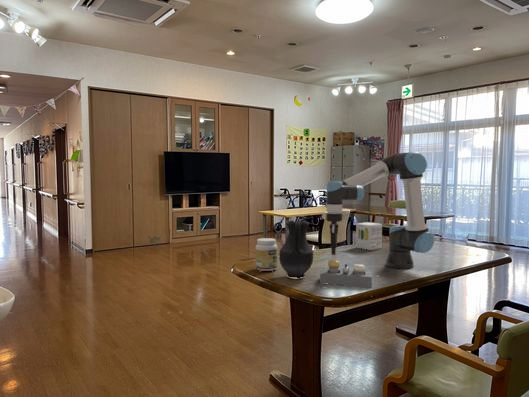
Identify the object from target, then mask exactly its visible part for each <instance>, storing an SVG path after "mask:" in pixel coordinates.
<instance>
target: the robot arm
mask: <svg viewBox="0 0 529 397" xmlns="http://www.w3.org/2000/svg"><path fill="white" fill-rule="evenodd" d="M427 164H428V162H427V160H426V158H425V156H424V155H423V154H422V153H420V152H417V151H416V152H415V151H414V152H413V151H409V152H397V153H393V154H391V155H389V156H386V157H384V158H383V159H380V160H378V161H376V164H375V165H372V166H371V167H370V166H369V168H367V169H364V170H363V171H361V172H359V173H356V174H355V175H352V176H350V177H348V178H347V179H344V180H342V181H339V180H338V181H336V180H335V181H334V180H332V181H328V182H327V183H326V205H325V208H326V222H331V223H330V224H329V230H330V231H329V234H330V245H329V248H330V260H331V261H337V259H338V258H337V257H338V247H339V245H338V233H339V224H338V222H342V221H343V214H342V213H343V201H360V200H363V198H364V196H365V189H364V187H365V186H367V185H369V184H371V183H373V182H375V181H377V180H380V178H387V177H388V176H393V175H399V179H400V180H401V181H402V185H403V192H404V201H405V211H406V222H407V225H396V226H394V225H393V226H391V227H390V228H389V232H388V234H389V235H388V238H389V239H388V243H389V244H388V248H389V249H388V250H389V251H388V254H387V257H386V259H385V266H387V267H390V268H393V269H412V268H414V260H413V256H412V254H411V253H412V252H415V253H419V254H426V253H428V252H430V251H431V250H432V248H433V246H434V244H435V236H434V234H432V232H430V231H429V226H428V225H427V224H426V222H425V213H424V204H423V203H424V202H423V193H422V184H421V183H422V182H421V180H422V178H424V173H425V172H426V169H427V167H428V165H427Z"/></svg>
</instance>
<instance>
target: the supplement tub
mask: <svg viewBox="0 0 529 397" xmlns="http://www.w3.org/2000/svg"><path fill="white" fill-rule="evenodd" d="M256 243H257V244H256V245H255V269H256V268H257V269H261V270H273V269H277V270H278V244H277V239H275V238H269V237H267V238H266V237H262V238H257V239H256Z"/></svg>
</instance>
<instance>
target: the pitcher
mask: <svg viewBox="0 0 529 397" xmlns="http://www.w3.org/2000/svg"><path fill="white" fill-rule="evenodd" d="M285 224H286V226H287V228H288V229H287V230H288V233H287V237H286V240H285V242H284V244H283V245H282V247H281V248H280V249H279V253H278V254H279V255H278V256H279V263H280V266H281V268H282V269H283V271H285V272H286V276H287V275H288V276H289V277H297V278H300V277H304V276H305V277H306V275H305V273H306V272H308V271H309V270H310V268H311V267H312V265H313V262H314V251H313V249H312V247H310V245H309V243H308V239H307V229H308V228H309V225H310V222H308V221H306V220H302V221H300V220H299V221H298V220H295V221H294V220H288V221H286V222H285Z"/></svg>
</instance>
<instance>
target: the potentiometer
mask: <svg viewBox="0 0 529 397" xmlns="http://www.w3.org/2000/svg"><path fill="white" fill-rule="evenodd" d="M342 269H343V274H349V270H350V266H348V264H347V263H345V264H344V266H343V267H342Z"/></svg>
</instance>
